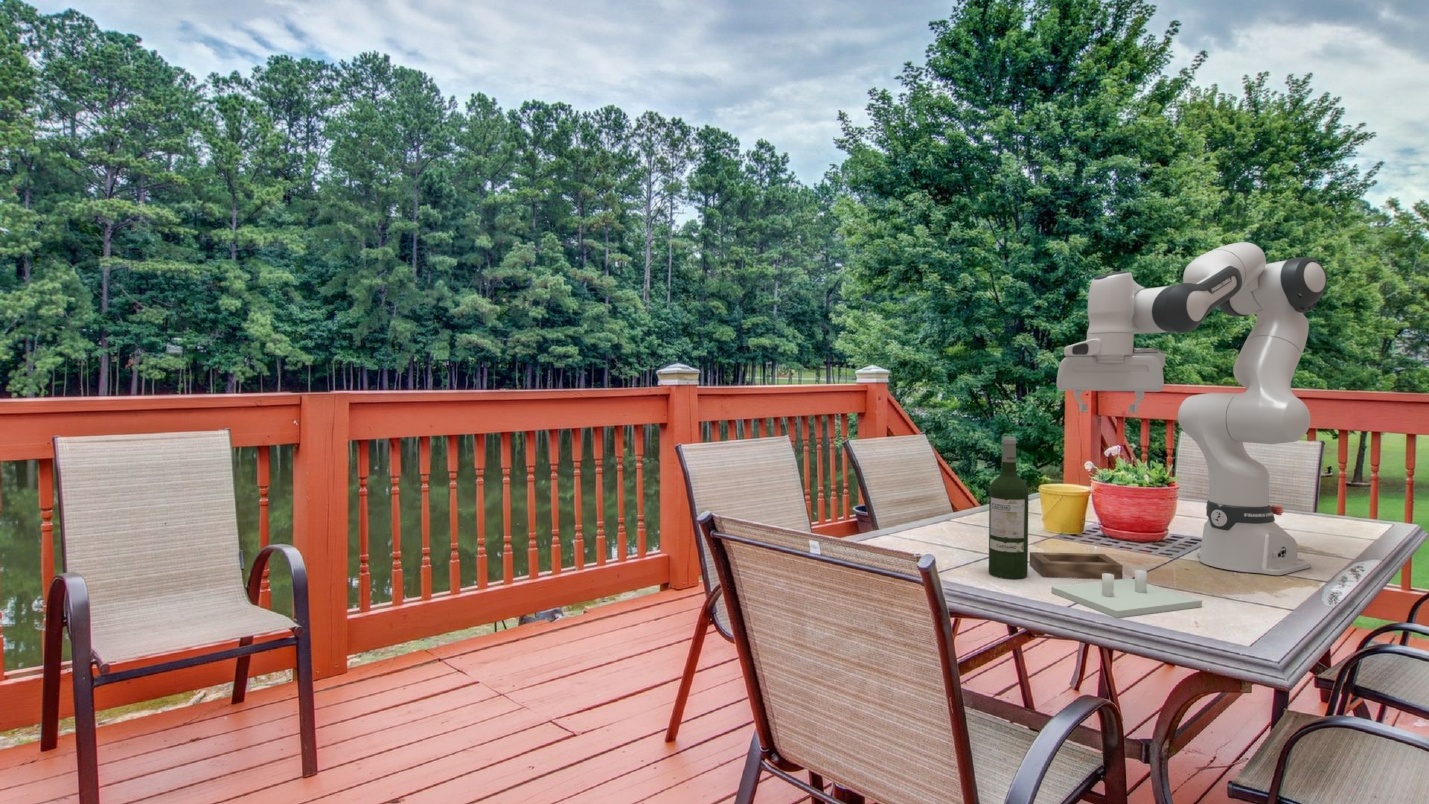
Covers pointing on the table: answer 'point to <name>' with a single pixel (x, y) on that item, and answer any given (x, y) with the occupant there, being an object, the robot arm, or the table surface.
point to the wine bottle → (1008, 519)
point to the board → (1126, 596)
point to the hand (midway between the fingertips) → (1107, 412)
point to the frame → (1074, 565)
